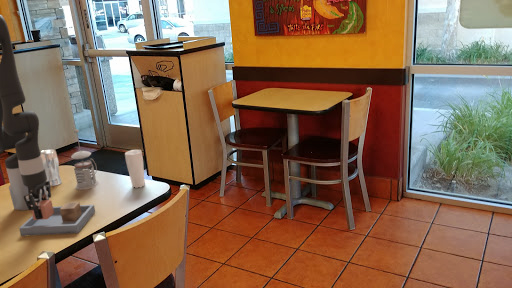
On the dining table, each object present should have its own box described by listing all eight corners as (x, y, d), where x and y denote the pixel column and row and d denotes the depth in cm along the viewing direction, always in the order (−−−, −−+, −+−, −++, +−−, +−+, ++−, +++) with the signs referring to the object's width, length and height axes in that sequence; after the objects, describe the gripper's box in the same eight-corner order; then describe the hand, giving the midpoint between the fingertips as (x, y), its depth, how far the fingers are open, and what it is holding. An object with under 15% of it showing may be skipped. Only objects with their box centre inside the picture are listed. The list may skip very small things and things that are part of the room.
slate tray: (21, 236, 156) (19, 228, 155) (43, 214, 171) (41, 207, 170) (78, 233, 155) (76, 225, 154) (95, 211, 170) (93, 204, 169)
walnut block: (62, 221, 162) (59, 209, 161) (68, 215, 167) (65, 203, 166) (76, 221, 162) (73, 208, 161) (82, 214, 167) (79, 202, 165)
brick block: (33, 219, 158) (30, 206, 156) (40, 213, 162) (37, 200, 161) (47, 219, 157) (44, 205, 156) (54, 212, 162) (51, 199, 161)
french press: (87, 179, 203) (76, 125, 196) (107, 182, 198) (96, 127, 190) (70, 188, 195) (58, 132, 187) (90, 191, 190) (78, 133, 182)
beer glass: (47, 182, 204) (39, 150, 199) (63, 179, 205) (56, 148, 201) (45, 188, 197) (37, 155, 193) (62, 185, 199) (55, 152, 194)
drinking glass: (142, 189, 188) (137, 154, 183) (127, 189, 189) (121, 155, 185) (149, 182, 194) (144, 149, 189) (134, 182, 195) (129, 149, 191)
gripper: (32, 177, 148) (44, 224, 153) (52, 161, 161) (62, 205, 166) (10, 178, 148) (22, 225, 153) (32, 163, 162) (42, 206, 167)
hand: (43, 214), depth 160 cm, fingers closed on brick block, 5 cm apart
